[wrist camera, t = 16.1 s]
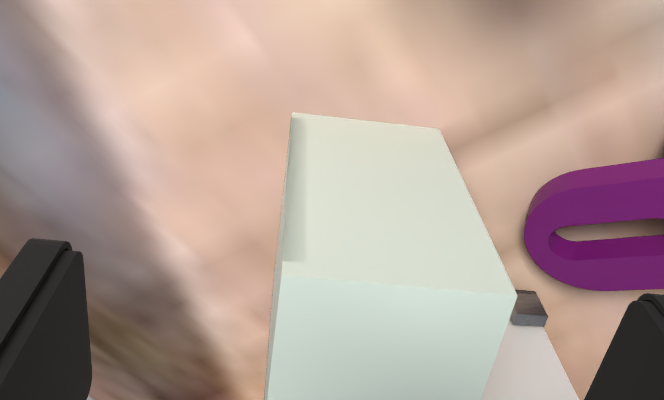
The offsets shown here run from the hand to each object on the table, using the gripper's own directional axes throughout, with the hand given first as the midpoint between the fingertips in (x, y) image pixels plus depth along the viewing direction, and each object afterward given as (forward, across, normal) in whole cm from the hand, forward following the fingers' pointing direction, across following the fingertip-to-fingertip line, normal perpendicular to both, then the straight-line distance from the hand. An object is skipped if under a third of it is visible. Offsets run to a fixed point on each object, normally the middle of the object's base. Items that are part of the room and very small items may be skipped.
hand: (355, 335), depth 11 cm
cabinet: (+30, -4, +15) cm, 34 cm away
